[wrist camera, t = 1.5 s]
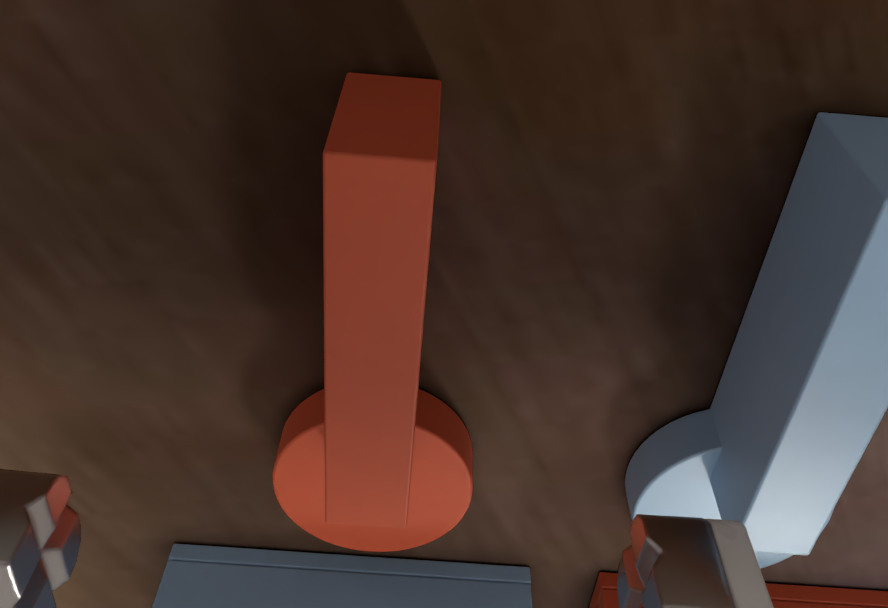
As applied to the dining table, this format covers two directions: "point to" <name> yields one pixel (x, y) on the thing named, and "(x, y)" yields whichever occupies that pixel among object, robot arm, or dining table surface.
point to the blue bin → (332, 581)
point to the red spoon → (376, 338)
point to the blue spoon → (793, 362)
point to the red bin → (790, 602)
